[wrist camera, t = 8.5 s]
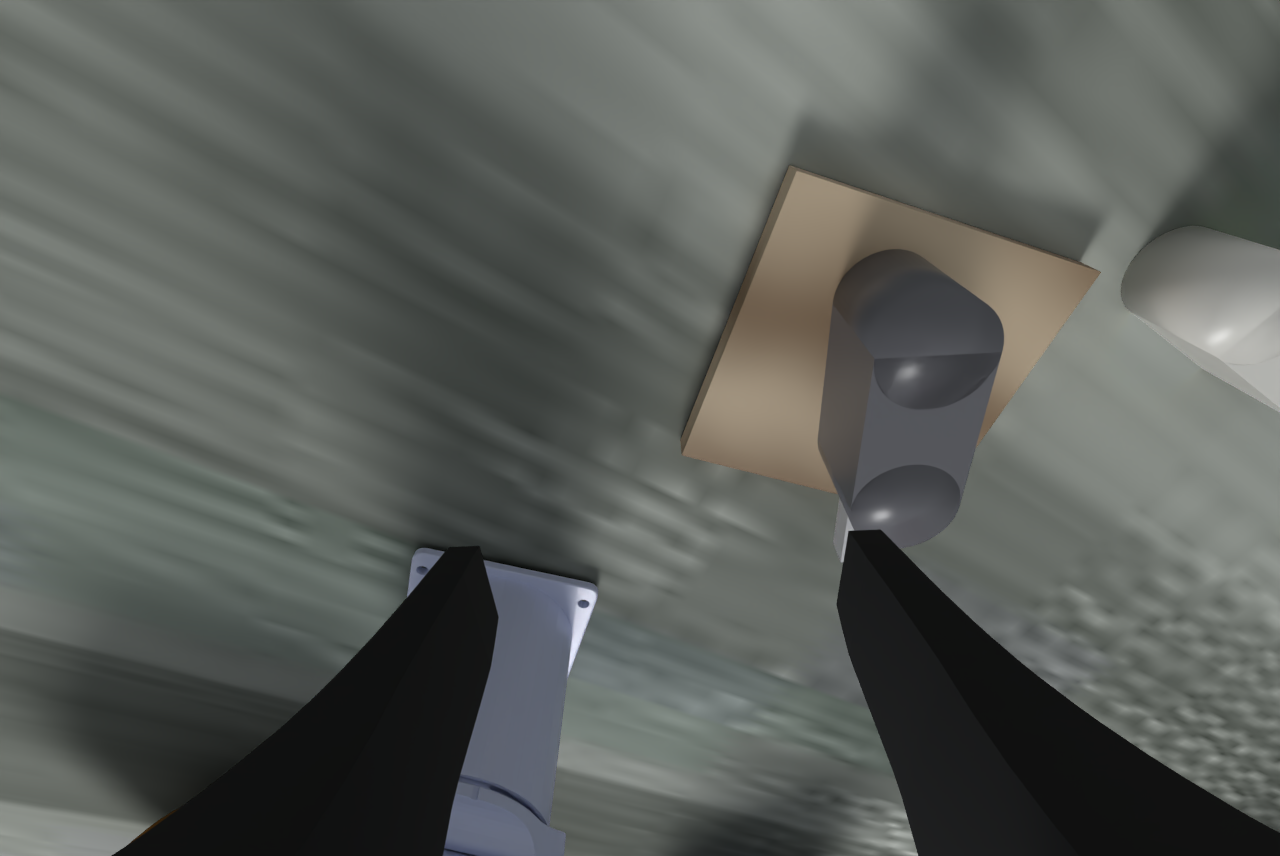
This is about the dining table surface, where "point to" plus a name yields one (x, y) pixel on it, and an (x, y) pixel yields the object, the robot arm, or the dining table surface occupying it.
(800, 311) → the cork pad
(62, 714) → the dining table surface
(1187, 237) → the offwhite plug
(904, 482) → the charcoal plug
